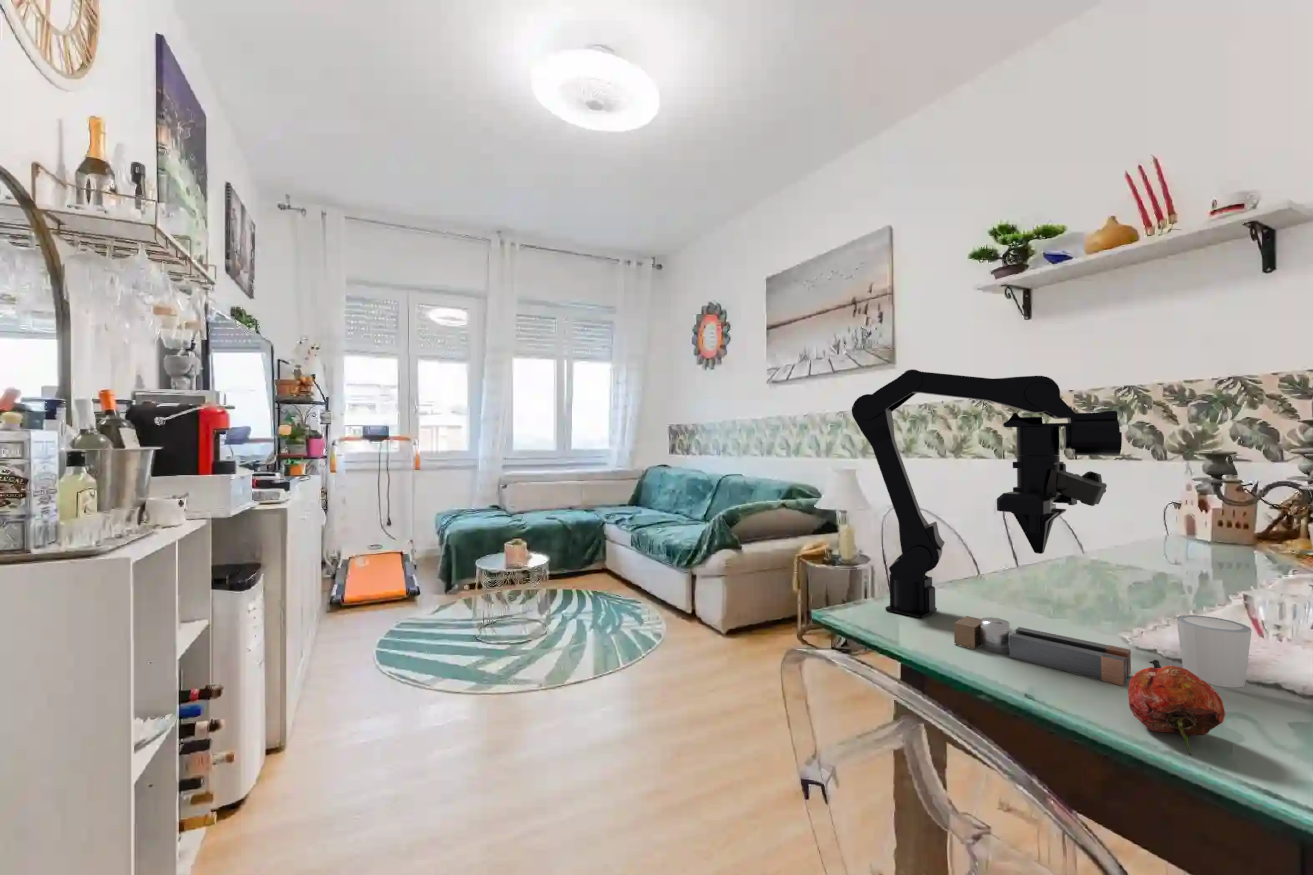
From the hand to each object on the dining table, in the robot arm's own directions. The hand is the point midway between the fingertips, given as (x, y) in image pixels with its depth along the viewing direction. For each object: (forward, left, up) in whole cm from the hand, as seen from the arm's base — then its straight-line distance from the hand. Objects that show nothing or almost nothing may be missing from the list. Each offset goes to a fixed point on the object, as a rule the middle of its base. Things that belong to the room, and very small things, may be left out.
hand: (1039, 553), depth 92 cm
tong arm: (+7, -13, -12) cm, 19 cm away
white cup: (+20, -6, -12) cm, 25 cm away
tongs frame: (+4, -15, -12) cm, 19 cm away
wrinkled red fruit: (+19, -28, -12) cm, 36 cm away
